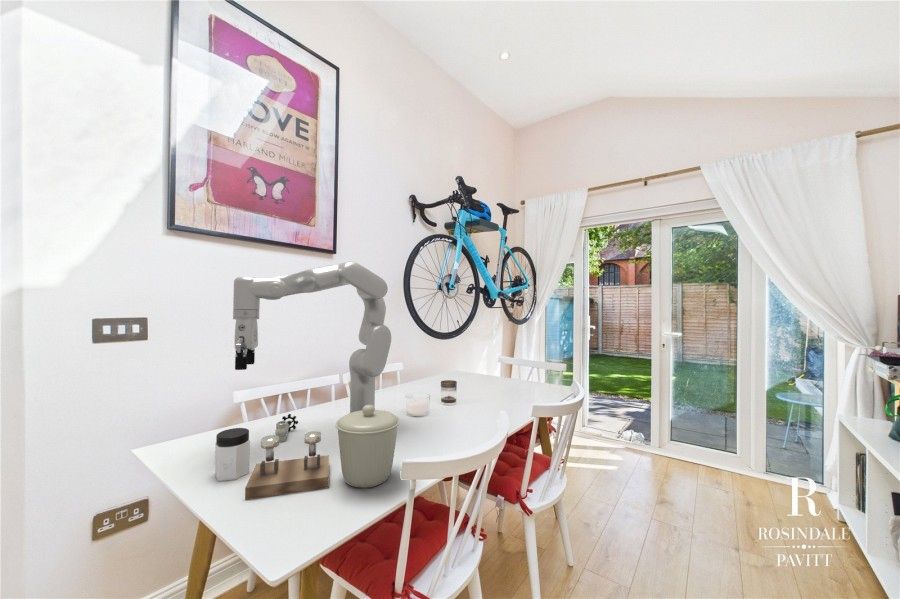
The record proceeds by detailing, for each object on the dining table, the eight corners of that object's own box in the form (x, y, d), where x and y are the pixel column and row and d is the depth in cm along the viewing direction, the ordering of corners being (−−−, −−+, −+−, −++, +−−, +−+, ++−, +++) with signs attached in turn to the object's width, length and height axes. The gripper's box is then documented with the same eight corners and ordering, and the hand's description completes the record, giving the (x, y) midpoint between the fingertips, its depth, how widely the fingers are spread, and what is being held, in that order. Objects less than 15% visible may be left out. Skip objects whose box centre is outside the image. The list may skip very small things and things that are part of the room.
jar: (208, 482, 97) (209, 439, 97) (220, 469, 105) (221, 428, 105) (244, 479, 99) (245, 436, 99) (253, 466, 107) (254, 426, 107)
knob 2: (320, 451, 104) (321, 430, 104) (320, 457, 100) (320, 436, 100) (304, 452, 102) (305, 432, 102) (303, 459, 98) (304, 437, 98)
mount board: (328, 465, 109) (329, 445, 109) (328, 487, 96) (328, 465, 96) (255, 474, 102) (256, 453, 103) (244, 499, 89) (245, 476, 89)
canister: (346, 463, 110) (347, 395, 110) (403, 465, 110) (405, 397, 110) (323, 494, 92) (325, 414, 92) (392, 497, 92) (394, 416, 92)
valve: (289, 442, 126) (298, 430, 138) (289, 424, 126) (298, 413, 138) (269, 443, 125) (280, 431, 137) (270, 424, 125) (280, 414, 137)
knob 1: (279, 455, 100) (280, 434, 100) (277, 462, 96) (277, 440, 96) (262, 457, 99) (262, 436, 99) (259, 464, 95) (259, 442, 95)
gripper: (252, 316, 109) (251, 371, 109) (264, 313, 125) (263, 362, 125) (224, 315, 107) (223, 372, 106) (241, 313, 123) (239, 362, 123)
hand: (245, 366), depth 116 cm, fingers open, 9 cm apart
